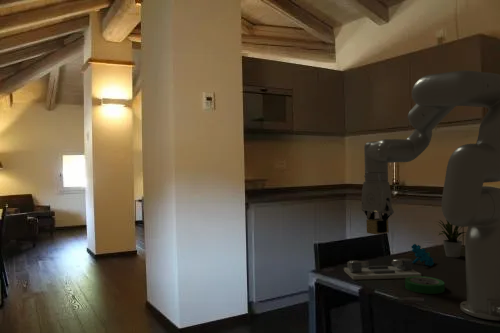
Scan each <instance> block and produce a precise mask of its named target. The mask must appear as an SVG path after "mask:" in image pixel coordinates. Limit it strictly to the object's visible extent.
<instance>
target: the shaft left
mask: <svg viewBox="0 0 500 333" xmlns="http://www.w3.org/2000/svg"><path fill="white" fill-rule="evenodd" d="M346 266H347V268H348V269H349V270H350V271H351V272H352V273H362V268H369V266H370V262H369V261H368V260H359V259H357V260H355V259H353V260H351V259H350V260H349V261H347V262H346Z"/></svg>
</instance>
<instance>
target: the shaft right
mask: <svg viewBox="0 0 500 333" xmlns="http://www.w3.org/2000/svg"><path fill="white" fill-rule="evenodd" d="M413 264H414V263H413V260H412V258H406V257H400V258H396V259H393V260H391V266H393V267H397V268H398V269H401V270H404V271H409V270H412V269H413Z"/></svg>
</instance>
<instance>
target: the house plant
mask: <svg viewBox="0 0 500 333" xmlns="http://www.w3.org/2000/svg"><path fill="white" fill-rule="evenodd" d="M445 220H446V219H445ZM435 222H436V223H437V225H438V226H439V227H441V228H442V231H435V232H437V233H439V234H438V235H437V237H439V236H442V235H443V237H444V238H445V239H443V240H442V242H443V243H442V244H443V248H444V251H445V257H448V258H460V257H461V250H462V244H463V241H462V240H460V239H461V238H462V237H464V236H465V234H466V233H467V231H461V232H460V230H461V229H462V228H463V227H460V228H459V226H455V225H452V224H451V223H449V222H448V221H447V220H446V223H444V222H443V220H441V219H439V221H437V220H435ZM453 226H454V228H453ZM461 235H462V236H461ZM458 237H459V238H458Z"/></svg>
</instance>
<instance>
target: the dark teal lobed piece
mask: <svg viewBox="0 0 500 333" xmlns="http://www.w3.org/2000/svg"><path fill="white" fill-rule="evenodd" d="M426 250H427V249H425V248H422V247H421V245H419V244H416V243H413V244H412V245H411V251H412V252H413V253H414V256H415V257H416V258H415V259H414V260H412V262H413V264H414V265H415V264H416V263H418V261H419V262H420V263H423V262H424V264H425V266H428V267H432V266H433V265H434V264H435V262H434V258H433V257H431V253H430V252H429V251H428V252H426Z"/></svg>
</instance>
